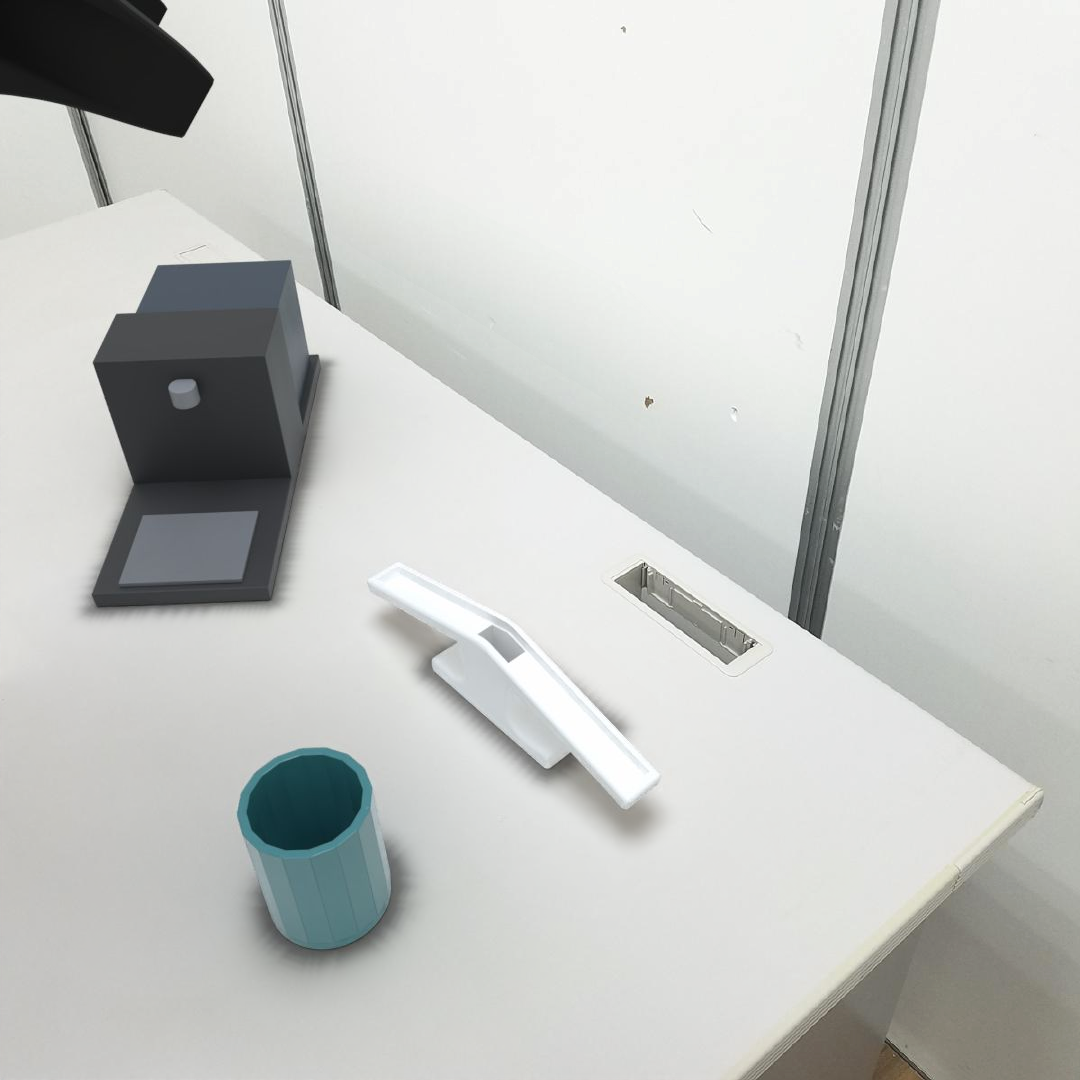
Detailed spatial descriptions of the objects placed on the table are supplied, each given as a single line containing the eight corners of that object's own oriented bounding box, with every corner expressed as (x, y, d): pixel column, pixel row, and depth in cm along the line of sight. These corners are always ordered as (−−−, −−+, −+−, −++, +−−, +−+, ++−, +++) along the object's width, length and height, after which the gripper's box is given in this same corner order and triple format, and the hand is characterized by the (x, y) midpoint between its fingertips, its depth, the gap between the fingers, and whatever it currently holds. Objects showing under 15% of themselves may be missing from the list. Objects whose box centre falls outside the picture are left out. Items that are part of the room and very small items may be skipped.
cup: (287, 969, 48) (255, 878, 44) (257, 868, 52) (224, 774, 47) (407, 920, 50) (389, 827, 45) (370, 825, 54) (349, 730, 49)
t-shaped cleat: (428, 581, 66) (418, 509, 62) (685, 790, 55) (692, 716, 51) (371, 616, 64) (358, 543, 60) (626, 840, 53) (629, 767, 49)
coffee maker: (271, 600, 65) (234, 461, 59) (95, 607, 65) (39, 468, 58) (321, 365, 83) (297, 239, 77) (184, 370, 83) (149, 245, 77)
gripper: (-310, -384, 22) (293, 18, 31) (-255, -404, 32) (188, -96, 41) (-425, -46, 24) (169, 238, 33) (-339, -164, 34) (98, 78, 43)
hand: (173, 66), depth 37 cm, fingers open, 7 cm apart
